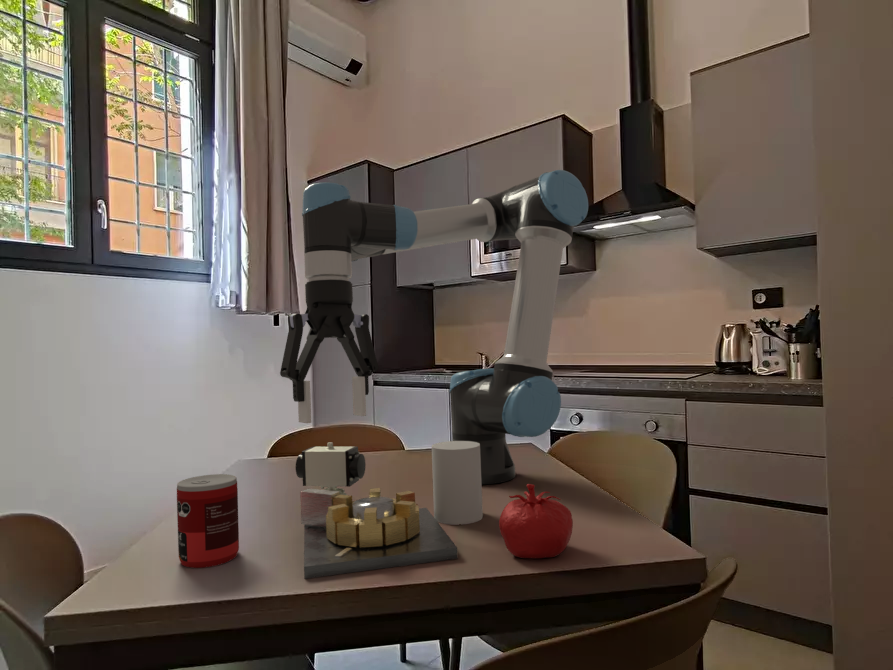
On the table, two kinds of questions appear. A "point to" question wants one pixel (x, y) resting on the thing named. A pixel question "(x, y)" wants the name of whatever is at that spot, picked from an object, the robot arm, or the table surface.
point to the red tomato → (535, 525)
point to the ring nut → (357, 532)
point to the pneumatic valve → (330, 467)
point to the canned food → (207, 520)
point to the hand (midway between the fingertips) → (333, 418)
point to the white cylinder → (457, 482)
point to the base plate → (344, 559)
